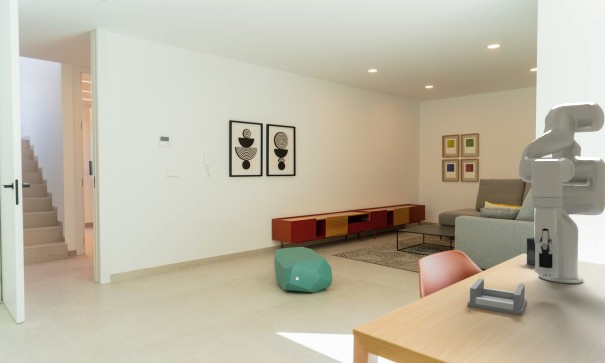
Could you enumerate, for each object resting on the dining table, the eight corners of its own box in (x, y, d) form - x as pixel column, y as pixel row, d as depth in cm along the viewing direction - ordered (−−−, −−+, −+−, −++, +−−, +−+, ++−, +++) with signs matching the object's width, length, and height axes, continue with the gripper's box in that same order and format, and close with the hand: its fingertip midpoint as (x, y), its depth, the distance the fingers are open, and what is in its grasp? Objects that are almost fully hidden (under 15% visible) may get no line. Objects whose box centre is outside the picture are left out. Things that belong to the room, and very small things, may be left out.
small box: (540, 260, 166) (540, 235, 166) (556, 263, 161) (557, 237, 161) (525, 264, 161) (525, 237, 161) (542, 267, 155) (542, 239, 155)
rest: (476, 294, 120) (476, 278, 120) (526, 302, 113) (527, 284, 113) (467, 306, 110) (467, 287, 110) (522, 315, 103) (522, 295, 103)
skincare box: (559, 278, 114) (559, 236, 113) (542, 278, 115) (542, 236, 114) (550, 272, 120) (550, 231, 119) (534, 271, 121) (534, 231, 120)
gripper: (534, 198, 125) (534, 255, 126) (528, 205, 111) (528, 270, 112) (563, 199, 121) (562, 258, 122) (561, 207, 107) (561, 273, 108)
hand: (546, 263), depth 117 cm, fingers closed on skincare box, 7 cm apart
